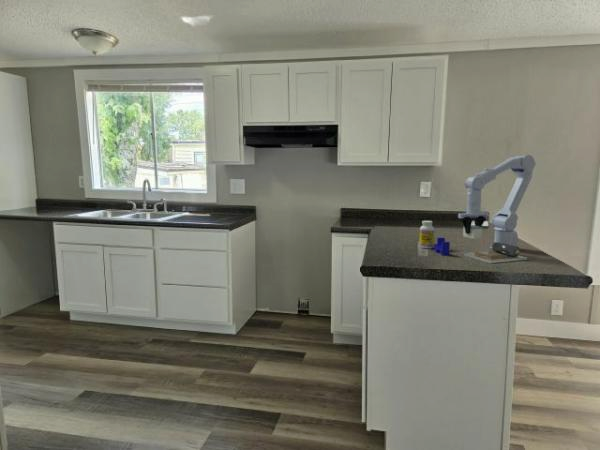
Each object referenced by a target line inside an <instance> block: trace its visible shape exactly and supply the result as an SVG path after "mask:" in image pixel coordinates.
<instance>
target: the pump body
mask: <svg viewBox="0 0 600 450" xmlns="http://www.w3.org/2000/svg"><path fill="white" fill-rule="evenodd" d="M462 229H463V230H462V237H464V238H469V239H475V240H476V239H482V237H483V226H482V227H480V226H475V224H474V225H473V224H471V230H470V234H467V233H466V232H465V228H464V225H463V228H462Z"/></svg>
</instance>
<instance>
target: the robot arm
mask: <svg viewBox="0 0 600 450" xmlns="http://www.w3.org/2000/svg"><path fill="white" fill-rule="evenodd" d="M536 165H537V164H536V161H535V158H534V157H533V156H532V155H530V154H528V155H527V154H526V155H512V156H511V157H508V158H506V159H505V160H504V161H502V162H501V163H499V164H498V165H496V166H494V167H493V168H491V167H485V168H483V170H482V171H481V172H479V173H475V175H474V176H470V177H468V178H467V179H466V181H465V182H464V186H465V188H466V192H467V193H466V194H467V195H466V197H467V198H466V212H463V213H458V214H457V217H458V219H460V221H461V222H462V225H463V226H464V228H465V232H466V233H467V234H470V230H471V225H472V224H473V220H474V226H480V227H482V228H483V224H484V223H485V221H486V219H487V218H488V217H489V212H487V211H486V212H485V211H484V212H482V211H481V207H482V206H481V205H482V190H483V189H484V188H485V186H486V185H488V184H489V183H491V182H492V181H494V180H496V178H497V176H498V175H499V174H502V173H504V172H505V171H508V170H511V171H512V173H513V174H514V175H515V177H516V179H515V181H514V184H513V186H512V187H511V190H510V193H509V194H508V197H507V199H506V201H505V203H504V204H503V205H504V206H503V208H501V209H499V210H498V211H497V212H496V214H495V215H494V216H493V217H492V219H491V226H492V228H493V230H494V241H493V242H494V243H495V242H499V243H504V244H508V245H513V246H517V247H518V241H519V240H518V237H519V235H518V232H517V231H516V230H515V229H516V227H517V224H518V223H517V222H518V220H519V219H518V218H519V215H517V211H518V208H519V206H520V205H521V201H522V200H523V197H524V195H525V193H526V191H527V189H528V187H529V185H530V182H531V180H532V178H533V170H534V168H535V166H536ZM472 218H473V219H472ZM494 243H493V244H494ZM489 248H490V249H492V246H489Z"/></svg>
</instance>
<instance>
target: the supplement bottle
mask: <svg viewBox="0 0 600 450" xmlns="http://www.w3.org/2000/svg"><path fill="white" fill-rule="evenodd" d="M421 224H422V225H421V226H420V228H419V245H418V246H419V247H420V248H421V249H434V244H435V227H434V226H433V220H422V221H421Z"/></svg>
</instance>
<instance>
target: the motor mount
mask: <svg viewBox="0 0 600 450" xmlns="http://www.w3.org/2000/svg"><path fill="white" fill-rule="evenodd" d="M491 247H492V248H491V250H487V251H473V252H472V251H471V252H464V253H463V256H466V257H469V258H472V259H476V260H479V261H480V262H481V261H482V262H485V263H488V264H496V263H497V264H498V263H509V262H517V261H527V260H528V257H526V256H523V255H520V254H521V248H520V247H519V246H518V245H517V246H513V245H508V244H504V243H499V242H495V243H492V246H491Z"/></svg>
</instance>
